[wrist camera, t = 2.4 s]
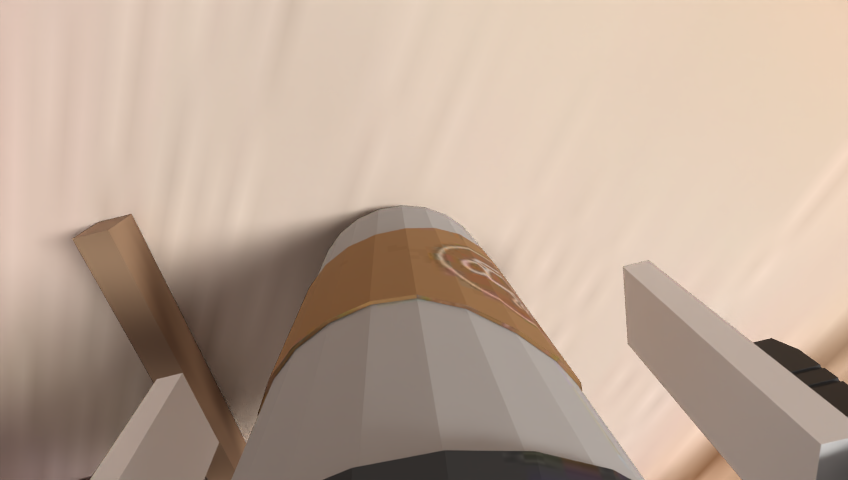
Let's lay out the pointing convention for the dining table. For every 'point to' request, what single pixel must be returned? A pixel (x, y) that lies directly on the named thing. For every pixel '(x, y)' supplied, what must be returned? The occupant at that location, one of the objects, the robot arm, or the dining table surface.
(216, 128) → the dining table surface
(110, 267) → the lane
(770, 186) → the dining table surface
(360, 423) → the coffee cup
